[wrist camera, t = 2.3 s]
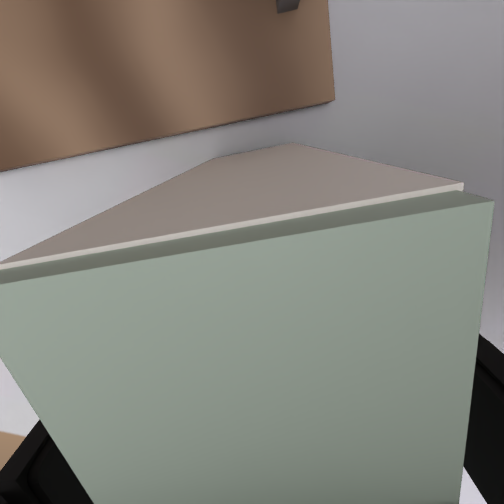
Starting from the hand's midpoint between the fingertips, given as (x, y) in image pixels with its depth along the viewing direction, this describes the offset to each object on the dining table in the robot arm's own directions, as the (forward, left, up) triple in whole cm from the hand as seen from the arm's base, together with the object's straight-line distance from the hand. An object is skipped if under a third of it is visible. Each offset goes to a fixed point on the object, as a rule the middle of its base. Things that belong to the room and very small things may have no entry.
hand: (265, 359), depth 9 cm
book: (0, 0, -9) cm, 9 cm away
